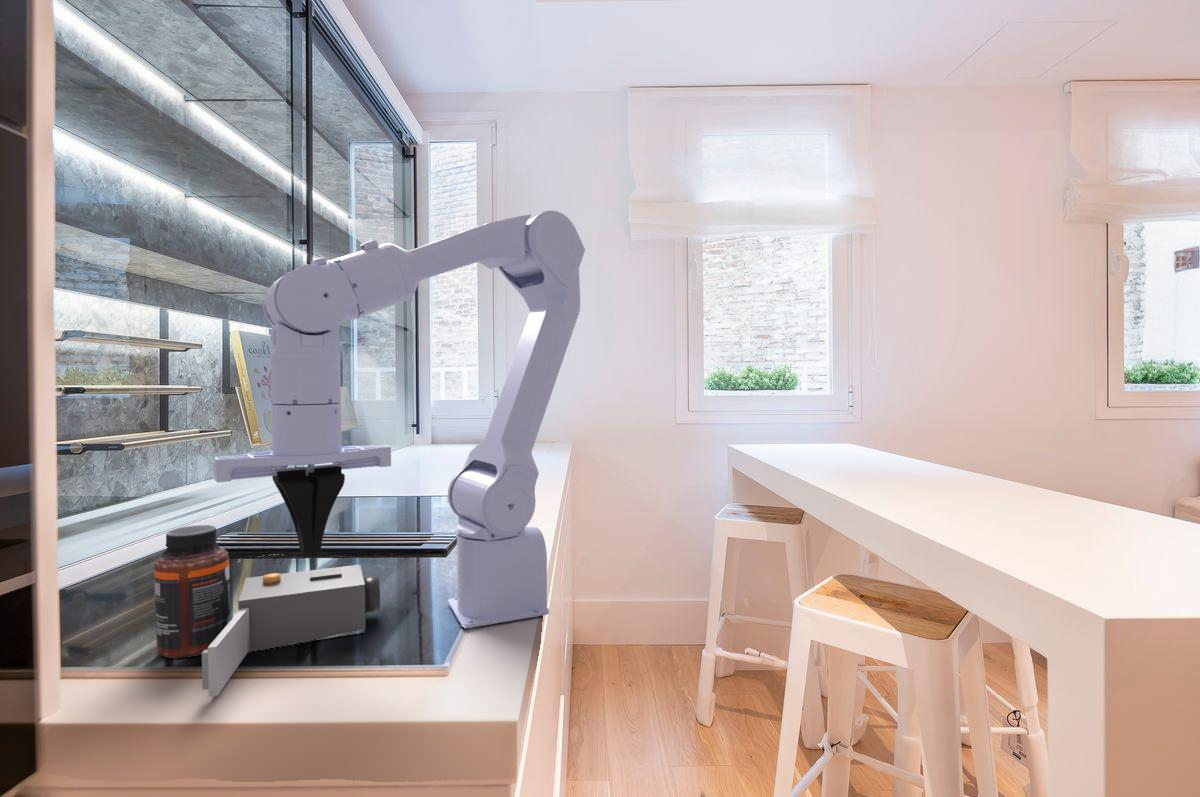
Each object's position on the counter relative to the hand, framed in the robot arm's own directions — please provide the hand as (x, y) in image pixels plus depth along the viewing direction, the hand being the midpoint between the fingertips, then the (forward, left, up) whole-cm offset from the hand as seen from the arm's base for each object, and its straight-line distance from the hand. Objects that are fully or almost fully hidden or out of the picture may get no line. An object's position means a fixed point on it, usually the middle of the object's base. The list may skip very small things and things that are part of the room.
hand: (310, 551), depth 57 cm
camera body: (+1, -7, -10) cm, 12 cm away
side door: (+7, +1, -9) cm, 12 cm away
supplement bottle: (+10, -7, -10) cm, 16 cm away
